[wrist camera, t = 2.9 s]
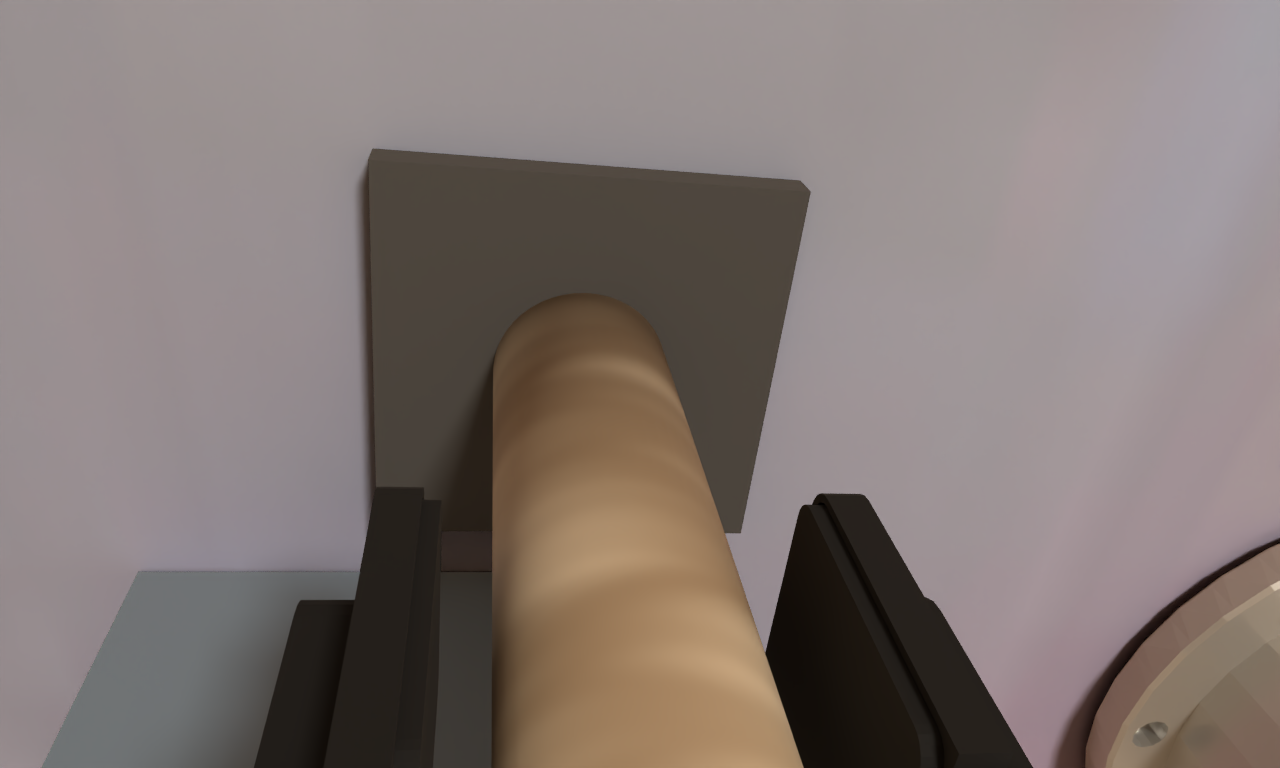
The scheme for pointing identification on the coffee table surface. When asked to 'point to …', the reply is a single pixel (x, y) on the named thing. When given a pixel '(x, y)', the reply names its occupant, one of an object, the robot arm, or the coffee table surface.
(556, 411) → the stylus
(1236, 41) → the coffee table surface
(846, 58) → the coffee table surface
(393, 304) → the mat
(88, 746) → the switch box
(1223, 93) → the coffee table surface
